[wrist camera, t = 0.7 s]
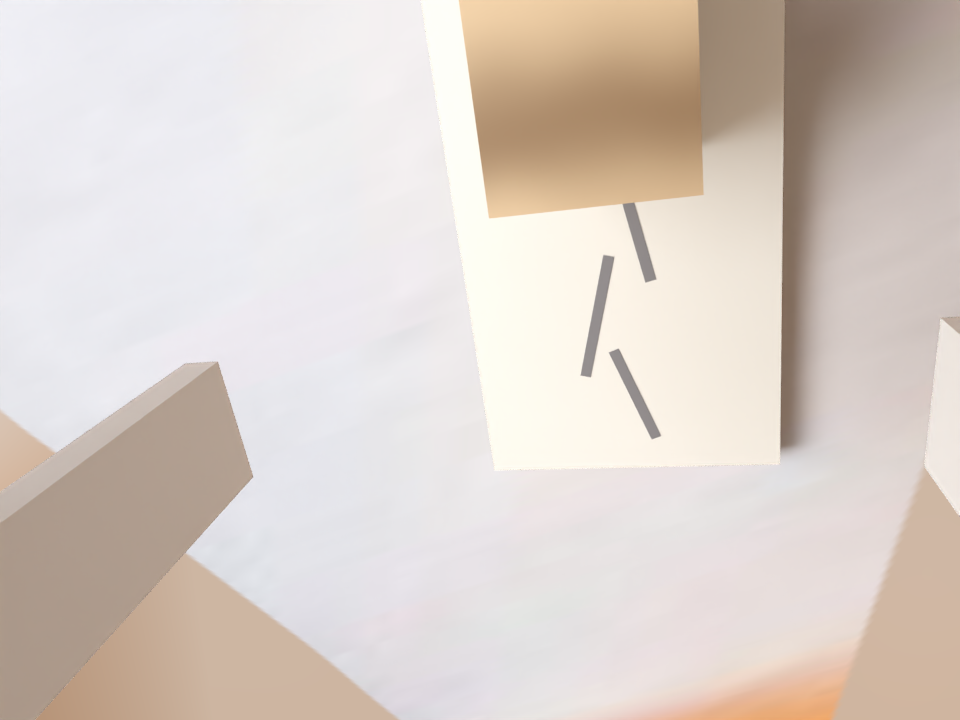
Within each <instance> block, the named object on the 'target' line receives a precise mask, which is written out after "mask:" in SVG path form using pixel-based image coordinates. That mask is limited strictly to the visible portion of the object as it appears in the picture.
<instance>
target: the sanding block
mask: <svg viewBox="0 0 960 720" xmlns="http://www.w3.org/2000/svg"><path fill="white" fill-rule="evenodd" d="M459 7H460V14H461V21H462V28H463V36H464V43H465V50H466V57H467V64H468V71H469V79H470V86H471V93H472V100H473V107H474V115H475V122H476V129H477V136H478V143H479V151H480V158H481V165H482V172H483V179H484V187H485V194H486V201H487V208H488V215H489V219H490V218H499V217H508V216H517V215H526V214H535V213H544V212H553V211H563V210H572V209H581V208H590V207H599V206H608V205H617V204H626V203H635V202H644V201H653V200H662V199H671V198H680V197H690V196H699V195H704V192H703V158H702V124H701V91H700V57H699V23H698V0H459Z"/></svg>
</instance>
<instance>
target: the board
mask: <svg viewBox="0 0 960 720" xmlns="http://www.w3.org/2000/svg"><path fill="white" fill-rule="evenodd" d="M421 6H422V12H423V19H424V25H425V32H426V38H427V44H428V51H429V57H430V63H431V70H432V76H433V82H434V89H435V95H436V102H437V108H438V114H439V121H440V127H441V133H442V140H443V146H444V152H445V159H446V165H447V172H448V178H449V184H450V191H451V197H452V203H453V210H454V216H455V222H456V229H457V235H458V241H459V248H460V254H461V261H462V267H463V273H464V280H465V286H466V292H467V299H468V305H469V311H470V318H471V324H472V331H473V337H474V343H475V350H476V356H477V362H478V369H479V375H480V381H481V388H482V394H483V400H484V407H485V413H486V420H487V426H488V432H489V439H490V445H491V451H492V458H493V464H494V470H537V469H584V468H632V467H680V466H728V465H776V464H780V416H781V323H782V230H783V137H784V44H785V0H698V23H699V57H700V91H701V124H702V158H703V192H704V195H699V196H690V197H680V198H671V199H662V200H653V201H644V202H635V203H626V204H617V205H608V206H599V207H590V208H581V209H572V210H563V211H553V212H544V213H535V214H526V215H517V216H508V217H499V218H490V219H489V215H488V208H487V201H486V194H485V187H484V179H483V172H482V165H481V158H480V151H479V143H478V136H477V129H476V122H475V115H474V107H473V100H472V93H471V86H470V79H469V71H468V64H467V57H466V50H465V43H464V36H463V28H462V21H461V14H460V7H459V0H421Z"/></svg>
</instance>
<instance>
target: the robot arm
mask: <svg viewBox="0 0 960 720" xmlns="http://www.w3.org/2000/svg"><path fill="white" fill-rule="evenodd" d="M924 467H925V468H926V470H927V471H928V472H929V474H930V475H931V477H932V478H933V480H934V481H935V482H936V484H937V485H938V487H939V488H940V489H941V491H942V492H943V494H944V495H945V497H946V498H947V500H948V501H949V502H950V504H951V505H952V506H953V508H954V509H955V511H956V512H957V514H958V515H959V517H960V317H948V318H941V319H940V328H939V337H938V346H937V355H936V364H935V373H934V382H933V391H932V400H931V409H930V418H929V427H928V436H927V445H926V454H925V463H924ZM252 478H253V475H252V471H251V468H250V465H249V462H248V458H247V455H246V452H245V449H244V445H243V442H242V439H241V436H240V432H239V429H238V426H237V423H236V419H235V416H234V413H233V410H232V406H231V403H230V400H229V397H228V394H227V390H226V387H225V384H224V381H223V377H222V374H221V371H220V368H219V364H218V362H204V363H187V364H184V365H182V366H181V367H180V368H178V369H177V370H175V371H174V372H172V373H171V374H169V375H168V376H167V377H165V378H164V379H162V380H161V381H159V382H158V383H156V384H155V385H154V386H152V387H151V388H149V389H148V390H146V391H145V392H143V393H142V394H141V395H139V396H138V397H136V398H135V399H133V400H132V401H130V402H129V403H128V404H126V405H125V406H123V407H122V408H120V409H119V410H117V411H116V412H115V413H113V414H112V415H110V416H109V417H107V418H106V419H105V420H103V421H102V422H100V423H99V424H97V425H96V426H94V427H93V428H92V429H90V430H89V431H87V432H86V433H84V434H83V435H81V436H80V437H79V438H77V439H76V440H74V441H73V442H71V443H70V444H68V445H67V446H66V447H64V448H63V449H61V450H60V451H58V452H57V453H55V454H54V455H53V456H51V457H50V458H48V459H47V460H45V461H44V462H42V463H41V464H40V465H38V466H37V467H35V468H34V469H33V470H31V471H30V472H28V473H27V474H25V475H24V476H22V477H21V478H20V479H18V480H17V481H15V482H14V483H12V484H11V485H9V486H8V487H7V488H5V489H4V490H2V491H1V492H0V720H35V719H36V718H37V717H38V716H39V715H40V714H41V713H42V712H43V710H44V709H45V708H46V707H47V706H48V705H49V704H50V703H51V702H52V701H53V699H54V698H55V697H56V696H57V695H58V694H59V693H60V692H61V690H62V689H63V688H64V687H65V686H66V685H67V684H68V683H69V682H70V680H71V679H72V678H73V677H74V676H75V675H76V674H77V673H78V672H79V670H80V669H81V668H82V667H83V666H84V665H85V664H86V663H87V661H88V660H89V659H90V658H91V657H92V656H93V655H94V654H95V652H96V651H97V650H98V649H99V648H100V647H101V646H102V645H103V643H105V641H106V640H107V639H108V638H109V637H110V636H111V635H112V634H113V632H114V631H115V630H116V629H117V628H118V627H119V626H120V625H121V623H122V622H123V621H124V620H125V619H126V618H127V617H128V616H129V615H130V614H131V612H132V611H133V610H134V609H135V608H136V607H137V606H138V604H140V602H141V601H142V600H143V599H144V598H145V597H146V596H147V595H148V593H149V592H150V591H151V590H152V589H153V588H154V587H155V586H156V585H157V583H158V582H159V581H160V580H161V579H162V578H163V577H164V576H165V575H166V573H167V572H168V571H169V570H170V569H171V568H172V567H173V566H174V564H175V563H176V562H177V561H178V560H179V559H180V558H181V557H182V556H183V554H184V553H185V552H186V551H187V550H188V549H189V548H190V547H191V546H192V544H193V543H194V542H195V541H196V540H197V539H198V538H199V537H200V536H201V534H202V533H203V532H204V531H205V530H206V529H207V528H208V527H209V525H210V524H211V523H212V522H213V521H214V520H215V519H216V518H217V517H218V515H219V514H220V513H221V512H222V511H223V510H224V509H225V508H226V507H227V505H228V504H229V503H230V502H231V501H232V500H233V499H234V498H235V497H236V495H237V494H238V493H239V492H240V491H241V490H242V489H243V488H244V486H245V485H246V484H247V483H248V482H249V481H250V480H251V479H252Z"/></svg>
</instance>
